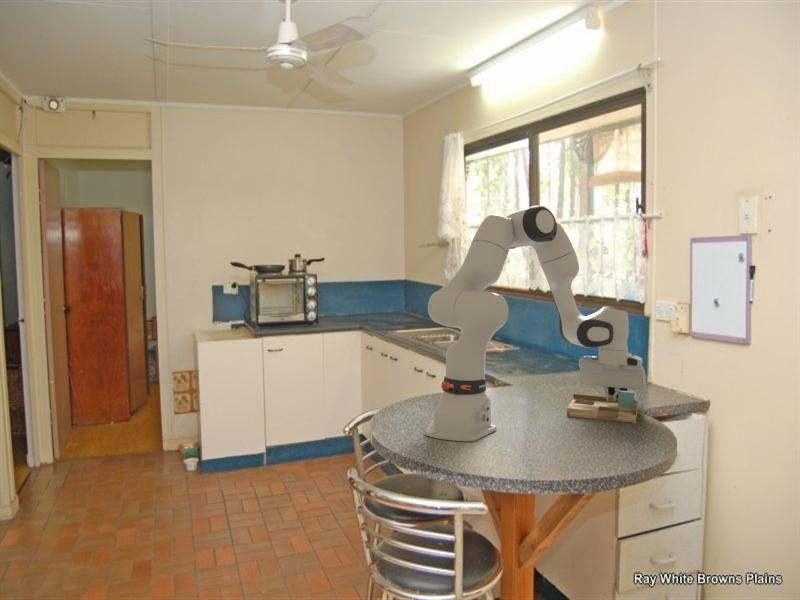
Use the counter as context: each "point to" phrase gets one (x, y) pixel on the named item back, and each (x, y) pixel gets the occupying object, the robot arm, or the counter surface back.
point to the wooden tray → (601, 408)
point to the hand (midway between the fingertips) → (611, 400)
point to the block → (626, 399)
